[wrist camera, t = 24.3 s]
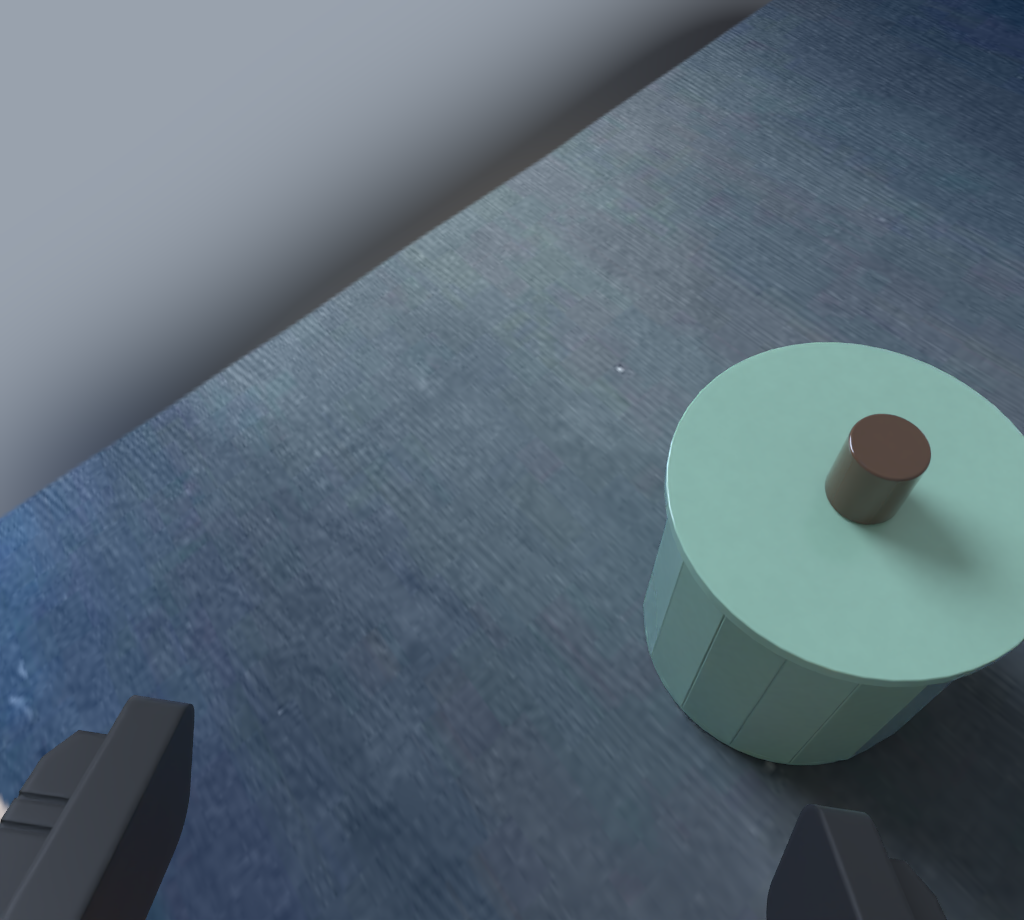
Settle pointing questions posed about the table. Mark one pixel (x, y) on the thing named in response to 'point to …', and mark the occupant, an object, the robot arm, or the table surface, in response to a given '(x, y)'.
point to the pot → (759, 680)
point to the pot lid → (854, 513)
